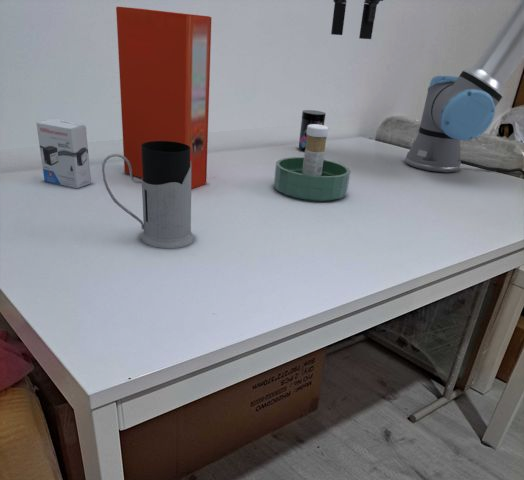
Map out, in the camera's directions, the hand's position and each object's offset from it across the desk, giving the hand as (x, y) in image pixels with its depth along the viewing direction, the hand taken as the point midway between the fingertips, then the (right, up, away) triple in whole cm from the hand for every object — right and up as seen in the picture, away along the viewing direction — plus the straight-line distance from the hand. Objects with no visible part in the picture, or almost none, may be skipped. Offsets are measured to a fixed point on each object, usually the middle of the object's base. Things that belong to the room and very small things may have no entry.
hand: (350, 36), depth 123 cm
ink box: (-62, -39, -13) cm, 74 cm away
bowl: (-10, -37, -3) cm, 39 cm away
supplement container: (-7, -14, +33) cm, 36 cm away
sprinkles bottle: (-10, -37, -3) cm, 38 cm away
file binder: (-43, -35, -5) cm, 55 cm away
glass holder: (-39, -55, -35) cm, 76 cm away
